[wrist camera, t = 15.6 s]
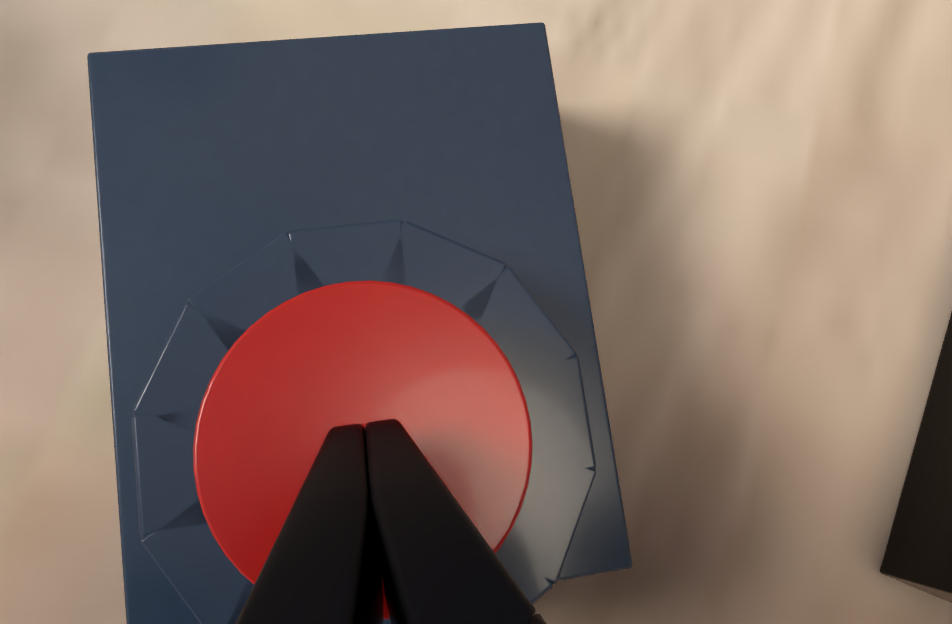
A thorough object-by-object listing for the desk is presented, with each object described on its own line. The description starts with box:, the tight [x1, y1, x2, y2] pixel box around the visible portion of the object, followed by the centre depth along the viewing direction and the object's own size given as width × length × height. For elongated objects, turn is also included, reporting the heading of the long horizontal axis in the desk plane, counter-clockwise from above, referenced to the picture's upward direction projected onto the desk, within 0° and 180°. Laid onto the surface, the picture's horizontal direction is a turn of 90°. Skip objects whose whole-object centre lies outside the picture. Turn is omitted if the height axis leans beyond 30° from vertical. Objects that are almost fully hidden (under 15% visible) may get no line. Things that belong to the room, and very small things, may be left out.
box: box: [87, 23, 632, 624], centre depth 15 cm, size 12×9×6 cm
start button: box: [193, 280, 533, 620], centre depth 11 cm, size 4×4×3 cm
